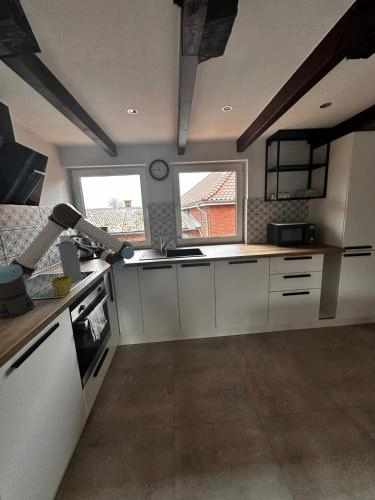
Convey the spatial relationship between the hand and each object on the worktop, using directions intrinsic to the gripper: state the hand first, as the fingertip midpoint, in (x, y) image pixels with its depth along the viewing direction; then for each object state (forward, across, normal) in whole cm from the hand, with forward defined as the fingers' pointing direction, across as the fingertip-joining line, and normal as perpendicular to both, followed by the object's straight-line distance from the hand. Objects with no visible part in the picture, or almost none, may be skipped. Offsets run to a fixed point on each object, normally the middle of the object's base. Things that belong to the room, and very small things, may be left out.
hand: (80, 238), depth 140 cm
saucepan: (+6, 0, -7) cm, 9 cm away
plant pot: (-19, -22, -25) cm, 38 cm away
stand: (-4, -1, -33) cm, 33 cm away
